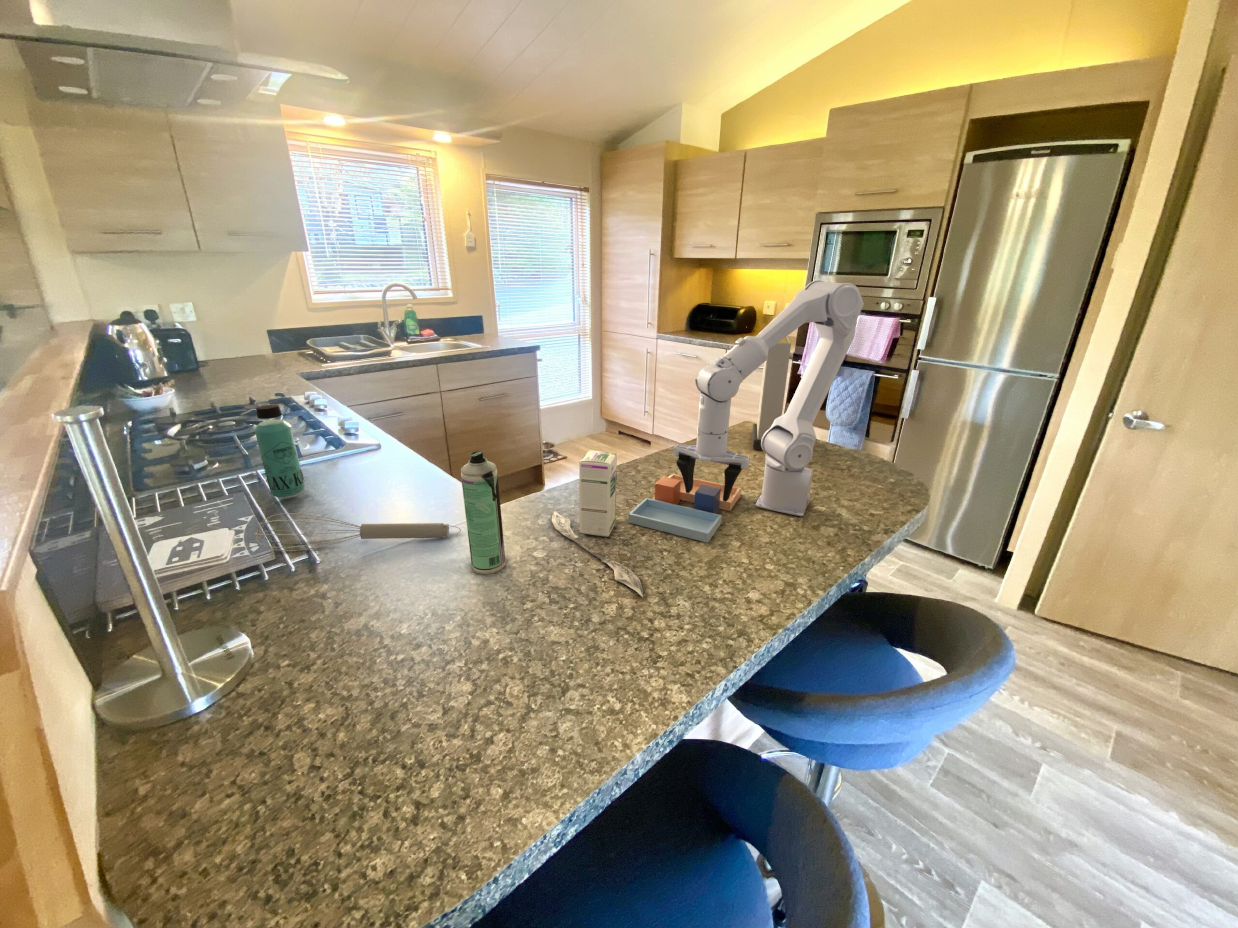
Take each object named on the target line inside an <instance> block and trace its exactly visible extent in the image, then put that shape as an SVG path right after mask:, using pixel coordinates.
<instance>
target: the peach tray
mask: <svg viewBox="0 0 1238 928" xmlns="http://www.w3.org/2000/svg"><path fill="white" fill-rule="evenodd" d="M667 478H672V479H676V480H681V486H680V501H682V502H683V501H684V502H688V503H692V504H694V500H695V492H696V491H697V490H698V488H699V487H700V486H701V485H705V486H710V487H715V488H720V489H721V492H720V503H719V510H724V511H728V512H731V510H732V509H733V507H735V505H736V503H737V502H738V500H739V499H740V497H741V496H742V487H738V486H734V485H733V487H732V490H731V493H730V497H729V499H728V500H727V501H723V494H724V487H725V483H719V482H715V481H710V480H705V479H699V478H694V477H693V489H692V490H691V492H690V493H686V490H685V484H684V480H683V477H682V475H679V474H675V473H671V474H670V475H669V476H668V477H667Z"/></svg>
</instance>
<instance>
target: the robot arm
mask: <svg viewBox="0 0 1238 928" xmlns="http://www.w3.org/2000/svg"><path fill="white" fill-rule="evenodd" d="M864 304H865V303H864V300H863V297H862V294H861V291H860V289H859V288H858V286H856V285H855V284H854V283H852V282H842V283H841V282H832V281H823V280H817V279H816V280H813V281H811V282H809V283H807V284H806V285H805V287H804V288H803V289H801V290H799V291H798V292H796V294H795V295H794V297H793V299H792V301H791V302H790V303H789V304H788V305H786V307H785V308H784V309H783V310H782V311H780V312H779V313H778V314H777V315H776V316H775V317H774V318H773V319H772V320H771V321H770V322H769V323H768V324H767V325H766V326H764V328H763V329H762V330H761V331H760V332H759V333H758V334H757V335H755V336H754V335H746V336H745V337H739V338H737V340H736V341H735V342H734V343H735V344H736V345H734V346H732V348H731V349H729V350H728V351H727V352H726V353H725V354H723V356H719V357H717V358H716V359H715V363H712V364H708V365H705V366H703V367H702V369H701V370H700V371H699V373H698V375H697V377H696V378H695V379H694V384H695V387H696V389H697V390H698V391H699V403H698V404H699V405H698V415H697V416H698V417H697V432H696V444H695V445H693V444H680V443H677V444H676V445H674V446H673V457H678V458H677V459H676V466H677V468H678V470H679V472H680V474H681V476H682V477H683V480H684V484H685V490H686V493H690V492H691V490H692V489H693V478H694V475H695V474H694V473H695V466H696V460H699V461H700V462H704V463H710V462H711V463H716V464H720V465H727V467H726V468H725V469H724V472H723V474H724V485H725V487H724V494H723V501H727V500H728V499H729V497H730V493H731V490H732V487H733V486H734V484H735V483H736V481H737V479H738V477H739V475H740V474H741V472H742V470H745V471H746V470H748V468H749V467H750V460H751V459H750V458H751V456H747V455H743V454H741V453H736V452H733V451H731V450H727V448H728V436H729V428H730V427H729V426H730V418H731V417H730V415H731V406H732V405H731V404H732V398H734V397H735V396H737V393H738V392H739V389H740V385H741V384H742V383H743V382H744V380H746V379H747V378H748V377H749V376H750V375H751V374H752V373H754V372H755V371H757V369H758V368H760V367H761V366H763V365H764V362H765V361H766V360H767V358H768V351H769V349H771V348H772V347H773V346H775V345H776V344H777V343H779V342H780V341H781V340H783V339H784V338H785V337H787V336H788V337H789V336H790V334H792V333H793V332H795V331H796V330H797V329H798V328H800V327H801V326H803V325H804V324H806V323H807V324H808V323H813V324H814V325H815V327H816V329H817V332H818V334H819V340H818V342H817V344H816V347H815V349H814V352H813V353H812V355H811V358H810V360H809V362H808V364H807V366H806V368H805V371H804V372H803V375H802V377H801V379H800V381H799V384H798V386H797V388H796V390H795V393H793V397H792V399H791V400H790V403H789V404H788V407H787V409H786V412H785V413H784V414H782V416H780V417H778V418H776V419H775V420H774V422H773V424H772V426H771V427H770V428H769V429H768V430H767V431H766V432H765V433H764V435H763V437H762V440H761V447H762V450H761V451H763V452H764V453H765V454H764V455H765V456H764V459H765V464H764V471H763V479H762V488H761V494H760V496H759V497H758V499H757V501H756V503H755V505H754V506H755V507H756V508H760V509H764V510H769V511H774V512H778V513H783V514H786V515H787V514H788V515H792V516H797V517H803V516H804V515H805V512H806V510H807V508H808V505H810V501H811V490H812V484H813V476H814V469H813V468H810V467H806V466H808V464H810V462H811V461H812V458H813V454H814V445H815V444H816V441H817V434H816V432H815V429H814V425H813V424H814V422H815V419H816V418H817V416H818V414H819V412H820V409H821V408H822V405H823V404H824V402H825V399H826V397H827V395H828V393H829V392H830V389H831V387H832V385H833V383H834V381H835V379H836V376H837V374H838V372H839V370H840V368H841V366H842V364H843V363H844V360H845V358H846V356H847V354H848V351H849V349H850V348H851V346H852V344H853V341H854V339H855V335H856V328H857V321H858V318H859V315H860V314H861V311H862V309H863V307H864V306H865V305H864Z"/></svg>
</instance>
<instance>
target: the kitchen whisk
mask: <svg viewBox="0 0 1238 928" xmlns="http://www.w3.org/2000/svg"><path fill="white" fill-rule="evenodd" d="M283 515H298V512H297V513H296V512H295V513H292V512H291V513H288V512H285V513H278V514H273V515H270V516H268V517H265V519H263V521H261V522H260V523H259V525H258V526H257V532H254V535H256V538H255V540H256V541H257V543H258V544H259V545H261V546H264V547H265V548H268V549H270V550H273V551H279V552H297V551H298V552H299V551H307V550H312V549H313V550H314V549H319V548H322V547H327V546H332V545H335V544H339V543H340V544H341V543H343V542H347V541H350V540H353V539H356V538H357V539H358V538H360V539H361V540H379V539H380V540H382V539H383V540H385V539H387V540H388V539H391V540H393V539H443V538H446V537H447V538H448V537H449V536H454V535H457V534H460V533H461V532H462V531H461V528H460V527H458V526H455V525H449V523H444V522H417V523H416V522H415V523H411V522H409V523H403V522H401V523H362V524H360V525H357V524H353V523H350V522H346V521H342V520H339V519H334V518H330V517H326V516H320V515H313V514H307V513H299V515H300V516H311V517H304V519H306V520H301V522H303V523H305V522H306V523H315V524H324V525H330V526H338V527H344V528H350V529H329V531H333V532H334V531H336V534H352V533H353V534H354V533H356V532H359V534H354V535H349V536H344V537H339V538H333V539H326V540H319V541H307V542H305V544H304V542H285V544H287V545H288V544H289V545H293V546H271V545H266V544H265V543H264V542H263V541H262V540H261V537H262V538H263V539H265V540H267V541H270V542H273V543H277V544H284V542H280V541H276V540H271V539H269V538H267V537H264V536H296V535H297V536H299V535H303V533H267V532H269V530H262V528H263V527H265V526H266V525H268V524H270V523H272V522H273V523H274V522H298V519H302V517H297V520H295V519H291V520H290V519H289V517H282V518H281V519H280V518H277V519H274V520H268V521H266V520H267V519H270V518H273V517H276V516H283ZM313 517H314V518H313ZM316 517H317V518H316ZM322 518H323V519H322ZM307 519H308V520H307ZM309 520H318V521H309ZM320 521H324V522H320ZM327 522H329V523H327ZM450 527H452V528H457V529H459V531H458V532H456V533H451V534H450ZM351 528H352V529H351ZM356 529H357V530H356ZM261 530H262V531H261ZM284 531H285V532H286V531H289V532H290V531H291V529H277V530H276V529H274V530H270V532H284ZM324 534H325V535H327V534H332V532H318V533H317V532H315V533H313V532H311V533H308V535H324ZM260 536H261V537H260ZM336 541H337V542H336ZM331 542H333V543H331ZM326 543H329V544H326ZM296 544H297V545H296ZM298 544H300V545H298ZM301 544H303V545H301ZM321 544H324V545H321ZM315 545H320V546H316V547H315ZM307 546H314V547H309V548H301V547H307ZM282 548H283V549H282ZM285 548H287V549H286V550H285ZM288 548H301V549H288Z"/></svg>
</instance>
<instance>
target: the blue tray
mask: <svg viewBox="0 0 1238 928" xmlns="http://www.w3.org/2000/svg"><path fill="white" fill-rule="evenodd" d="M722 516H723V515H722V514H720V513H719V514H718V513H717V514H714V513H710V512H706V511H701V510H697V509H694V507H693V508H692V507H688V506H685V505H681V504H680V505H679V504H677V505H675V504H671V503H667V502H662V501H658V500H655V498H648V497H645V498H644V499H643V500H642V501H641V502H640V503H638V505H636V506H635V507H634V508H633V509H632V510H631V511H630V512H628V523H629V524H633V525H636V526H639V527H645V528H648V529H653V530H655V531H660V532H664V533H667V534H668V533H669V534H672V535H675V536H680V537H685V538H688V539H692V540H695V541H699V542H702V543H707V544H708V543H709V542H710V541H711V539H712V537H713V536H714V534H716V532H717V530H718V529H719V527H720V526H721V524H722Z"/></svg>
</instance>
